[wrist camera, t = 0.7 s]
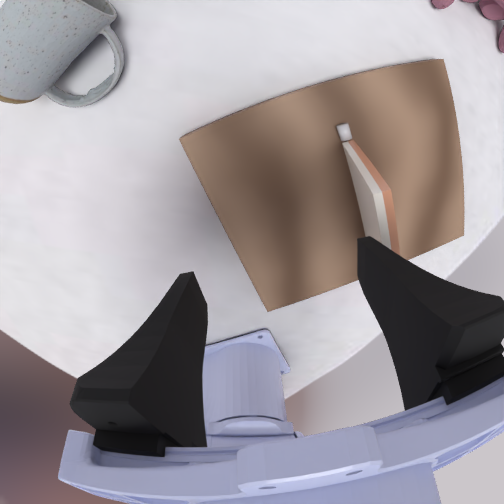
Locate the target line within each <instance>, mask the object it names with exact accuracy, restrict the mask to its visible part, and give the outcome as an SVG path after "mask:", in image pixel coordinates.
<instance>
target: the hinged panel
mask: <svg viewBox="0 0 504 504" xmlns="http://www.w3.org/2000/svg"><path fill="white" fill-rule="evenodd" d="M336 127H337V130H338V133H339V136H340V139H341V141H347V140H350V139H352V135H351V131H350V128H349V125H348V123H341V124H338V125H337V126H336ZM342 145H343V148H344V151H345V155H346V158H347V162H348V165H349V169H350V173H351V177H352V180H353V184H354V188H355V192H356V196H357V200H358V204H359V209H360V213H361V218H362V222H363V227H364V231H365V236H366V237H367V236H371V237H373V238H374V239H376V240H377V241H379V242H380V243H382V244H383V245H385V246H386V247H388V248H389V249H391V250H392V251H394V252H395V253H397V254H398V255H400V249H399V240H398V231H397V224H396V217H395V210H394V204H393V198H392V192H391V189H390V187H389V186H388V184H387V183H386V182H385V180H384V179H383V178H382V176H381V175H380V173H379V172H378V171H377V169H376V168H375V167H374V165H373V164H372V163H371V161H370V160H369V159H368V157H367V156H366V155H365V154H364V152H363V151H362V150H361V149H360V147H359V146H358V145H357V144H356V142H355V141H354V140H351V141H347V142H343V143H342Z"/></svg>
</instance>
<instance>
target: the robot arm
mask: <svg viewBox="0 0 504 504" xmlns="http://www.w3.org/2000/svg"><path fill="white" fill-rule="evenodd" d="M357 276H358V279H359V282H360V285H361V287H362V290H363V293H364V295H365V297H366V299H367V301H368V303H369V305H370V307H371V309H372V311H373V313H374V315H375V317H376V319H377V321H378V323H379V325H380V327H381V329H382V331H383V333H384V336H385V338H386V341H387V344H388V347H389V350H390V353H391V356H392V359H393V362H394V366H395V369H396V373H397V376H398V381H399V385H400V389H401V393H402V398H403V403H404V408H405V411H403V412H400V413H397V414H394V415H391V416H388V417H385V418H382V419H378V420H375V421H371V422H368V423H364V424H361V425H357V426H353V427H347V428H342V429H337V430H333V431H329V432H324V433H319V434H314V435H309V436H304V435H303V434H302V433H301V432H299V431H295V432H294V431H293V424H292V422H287V417H286V409H285V402H284V394H283V386H282V379H281V375H282V374H286V373H289V372H290V367H289V365H288V363H287V362H286V360H285V358H284V356H283V355H282V353H281V351H280V349H279V348H278V346H277V344H276V342H275V340H274V339H273V337H272V335H271V333H270V332H269V331H268V330H261V331H258V332H254V333H251V334H248V335H244V336H241V337H238V338H234V339H231V340H227V341H223V342H220V343H216V344H212V345H209V346H205V344H206V335H207V326H208V312H207V303H206V301H205V298H204V296H203V294H202V291H201V289H200V287H199V284H198V282H197V279H196V277H195V275H194V272H188V273H183V274H180V275H179V276H178V278H177V279H176V280H175V282H174V283H173V285H172V286H171V288H170V289H169V290H168V292H167V293H166V295H165V296H164V298H163V299H162V300H161V302H160V303H159V305H158V306H157V307H156V308H155V310H154V311H153V312H152V314H151V315H150V316H149V317H148V319H147V320H146V321H145V322H144V324H143V325H142V326H141V327H140V328H139V329H138V330H137V331H136V332H135V333H134V334H133V336H132V337H131V338H130V339H129V340H127V341H126V342H125V343H124V344H123V345H122V346H121V347H120V348H119V349H118V350H117V351H116V352H114V353H113V354H112V355H111V356H109V357H108V358H107V359H106V360H104V361H103V362H102V363H100V364H99V365H97V366H96V367H95V368H93V369H92V370H90V371H88V372H87V373H85V374H84V375H82V376H81V377H79V378H78V379H77V382H76V385H75V388H74V392H73V394H72V398H71V401H70V406H71V408H72V410H73V411H74V412H75V413H76V414H77V415H78V416H79V417H80V418H82V419H83V420H84V421H86V422H87V423H88V424H90V425H91V426H92V427H94V428H95V429H96V432H95V435H92V434H90V433H86V432H80V431H74V430H69V431H68V435H67V439H66V443H65V448H64V451H63V456H62V460H61V465H60V469H59V474H58V478H59V480H61V481H63V482H66V483H68V484H70V485H72V486H74V487H77V488H79V489H81V490H84V491H86V492H89V493H91V494H94V495H97V496H100V497H105V498H108V499H112V500H117V501H121V502H126V503H130V504H441V501H440V497H439V493H438V489H437V485H436V482H435V478H434V474H433V471H435V470H438V469H440V468H441V467H443V466H446V465H448V464H450V463H451V462H453V461H455V460H457V459H459V458H461V457H463V456H465V455H466V454H468V453H470V452H472V451H473V450H475V449H477V448H479V447H480V446H482V445H483V444H485V443H487V442H488V441H490V440H491V439H493V438H495V437H496V436H498V435H499V434H501V433H502V432H504V357H503V355H502V353H503V351H504V348H503V346H502V345H501V342H502V340H503V338H504V300H503V299H502V298H501V297H500V296H495V295H491V294H485V293H481V292H478V291H474V290H471V289H467V288H465V287H462V286H458V285H456V284H454V283H451V282H448V281H446V280H444V279H441V278H439V277H437V276H435V275H433V274H431V273H429V272H427V271H425V270H423V269H421V268H420V267H418V266H416V265H414V264H413V263H411V262H409V261H408V260H406V259H404V258H403V257H401V256H400V255H398V254H397V253H395V252H394V251H392V250H391V249H389V248H388V247H386V246H385V245H383V244H382V243H380V242H379V241H377V240H376V239H374V238H373V237H371V236H367V237H362V238H357ZM259 335H261V336H259Z"/></svg>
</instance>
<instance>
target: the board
mask: <svg viewBox="0 0 504 504" xmlns="http://www.w3.org/2000/svg"><path fill="white" fill-rule="evenodd" d="M341 123H348V125H349V128H350V131H351V135H352V139H350V140H347V141H351V140H354V141H355V142H356V144H357V145H358V146H359V147H360V149H361V150H362V151H363V152H364V154H365V155H366V156H367V157H368V159H369V160H370V161H371V163H372V164H373V165H374V167H375V168H376V169H377V171H378V172H379V173H380V175H381V176H382V178H383V179H384V180H385V182H386V183H387V184H388V186H389V187H390V189H391V192H392V198H393V204H394V210H395V217H396V224H397V231H398V240H399V249H400V256H401V257H403V258H404V259H406V260H409V259H412V258H414V257H416V256H419V255H421V254H423V253H426V252H428V251H430V250H433V249H435V248H437V247H439V246H442V245H444V244H446V243H448V242H450V241H453V240H455V239H457V238H459V237H461V236H464V183H463V167H462V156H461V147H460V138H459V131H458V124H457V118H456V112H455V107H454V101H453V96H452V92H451V87H450V83H449V79H448V75H447V71H446V67H445V63H444V59H431V60H424V61H417V62H411V63H405V64H399V65H393V66H388V67H383V68H378V69H374V70H369V71H365V72H360V73H356V74H352V75H348V76H344V77H340V78H336V79H333V80H329V81H325V82H322V83H319V84H315V85H312V86H309V87H305V88H302V89H299V90H296V91H293V92H290V93H287V94H284V95H281V96H278V97H275V98H272V99H269V100H267V101H264V102H261V103H259V104H256V105H253V106H251V107H248V108H245V109H243V110H240V111H238V112H235V113H233V114H231V115H228V116H226V117H223V118H221V119H219V120H216V121H214V122H212V123H210V124H207V125H205V126H203V127H201V128H198V129H196V130H194V131H192V132H190V133H188V134H186V135H184V136H182V137H181V138H180V139H179V140H180V142H181V144H182V146H183V148H184V150H185V152H186V154H187V156H188V158H189V160H190V162H191V164H192V166H193V168H194V170H195V172H196V174H197V176H198V178H199V180H200V182H201V184H202V186H203V188H204V190H205V192H206V194H207V196H208V198H209V200H210V202H211V204H212V206H213V208H214V210H215V212H216V213H217V215H218V217H219V219H220V221H221V223H222V225H223V227H224V229H225V231H226V233H227V235H228V237H229V239H230V241H231V243H232V245H233V247H234V249H235V250H236V252H237V254H238V256H239V258H240V260H241V262H242V264H243V266H244V268H245V270H246V272H247V274H248V275H249V277H250V279H251V281H252V283H253V285H254V287H255V289H256V291H257V293H258V295H259V297H260V298H261V300H262V302H263V304H264V306H265V308H266V310H267V312H269V311H272V310H275V309H278V308H281V307H284V306H287V305H290V304H293V303H296V302H299V301H302V300H305V299H308V298H310V297H313V296H316V295H319V294H322V293H324V292H327V291H330V290H333V289H335V288H338V287H341V286H343V285H346V284H349V283H351V282H354V281H357V280H359V279H358V276H357V238H362V237H366V236H365V231H364V227H363V222H362V218H361V213H360V209H359V204H358V200H357V196H356V192H355V188H354V184H353V180H352V177H351V173H350V169H349V165H348V162H347V158H346V155H345V151H344V148H343V145H342V143H343V142H347V141H341V139H340V136H339V133H338V130H337V127H336V126H337V125H338V124H341Z"/></svg>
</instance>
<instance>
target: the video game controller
mask: <svg viewBox="0 0 504 504" xmlns="http://www.w3.org/2000/svg"><path fill="white" fill-rule="evenodd" d="M463 1H465V2H469V3H473V2H476V1H478V0H463ZM453 2H454V0H432V3H433V5H434V6H435V7H436V8H438V9H444V8H446V7H448V6H450V5H451V4H452V3H453ZM479 6H480V9H481V11H482V13H483V15H484V16H485V17H486V18H488V19H490V20H504V0H480V2H479ZM499 49H500V51H501V52H502V53H504V26H503V29H502V31H501V33H500V37H499Z"/></svg>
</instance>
